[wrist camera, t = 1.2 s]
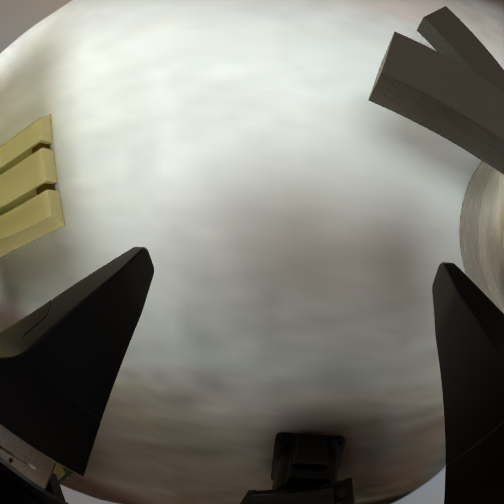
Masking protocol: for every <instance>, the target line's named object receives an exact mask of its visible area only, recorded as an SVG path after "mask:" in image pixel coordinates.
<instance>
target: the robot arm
mask: <svg viewBox="0 0 504 504" xmlns="http://www.w3.org/2000/svg"><path fill="white" fill-rule="evenodd" d="M153 274H154V266H153V263H152V261H151V258H150V255H149V252H148V250H147V249H146V248H145V247H134V248H132V249H130V250H129V251H127V252H125V253H124V254H122V255H121V256H119V257H117V258H116V259H114V260H112V261H111V262H109V263H108V264H106V265H104V266H103V267H101V268H100V269H98V270H96V271H95V272H93V273H92V274H90V275H89V276H87V277H86V278H84V279H82V280H81V281H79V282H78V283H76V284H75V285H73V286H72V287H70V288H69V289H67V290H66V291H64V292H63V293H61V294H60V295H58V296H57V297H55V298H54V299H53V300H50V301H49V302H48V303H46V304H45V305H43V306H42V307H40V308H39V309H37V310H36V311H34V312H33V313H31V314H29V315H28V316H26V317H25V318H23V319H21V320H20V321H18V322H16V323H15V324H13V325H11V326H10V327H8V328H7V329H5V330H3V331H2V332H0V504H68V503H67V502H65V499H64V496H63V493H62V491H61V487H60V484H59V481H58V478H57V475H56V474H55V473H53V471H54V468H55V466H56V464H57V463H58V464H60V465H61V466H63V467H65V468H67V469H69V470H71V471H73V472H74V473H76V474H78V475H80V476H82V477H83V475H84V473H85V470H86V467H87V463H88V460H89V457H90V453H91V450H92V447H93V444H94V441H95V438H96V435H97V432H98V429H99V426H100V421H101V419H102V416H103V413H104V410H105V408H106V405H107V402H108V399H109V396H110V393H111V391H112V388H113V385H114V382H115V380H116V377H117V374H118V372H119V369H120V366H121V364H122V361H123V358H124V356H125V353H126V351H127V348H128V346H129V343H130V340H131V338H132V335H133V333H134V330H135V328H136V326H137V323H138V321H139V318H140V316H141V313H142V310H143V307H144V304H145V300H146V297H147V294H148V291H149V287H150V284H151V281H152V278H153ZM432 292H433V303H434V317H435V333H436V342H437V349H438V356H439V363H440V372H441V381H442V391H443V402H444V417H445V440H446V475H445V500H444V504H504V314H503V313H502V311H501V310H500V309H499V308H498V307H497V306H496V305H495V304H494V303H493V302H492V301H491V300H490V299H489V298H488V297H487V296H486V295H485V294H484V293H483V292H482V291H481V290H480V288H479V287H478V286H477V285H476V284H475V283H474V282H473V281H472V280H470V279H469V278H468V277H467V276H466V275H465V274H464V273H463V272H462V271H461V270H460V269H459V268H458V267H457V266H456V265H455V264H454V263H445V262H442V263H441V264H440V265H439V267H438V270H437V273H436V276H435V279H434V282H433V288H432ZM280 437H281V438H283V439H279V438H280ZM338 441H341V442H338ZM344 444H345V439H344V437H341V436H321V435H303V434H286V433H279V434H277V435H276V438H275V446H274V455H273V464H272V472H271V479H272V480H273V486H272V490H264V491H256V490H249V491H248V493H247V494H246V496H245V497H244V499H243V500H242V502H241V503H240V504H355V499H354V492H353V485H352V478H347V479H345V480H342V481H337V471H338V467H339V464H340V460H341V456H342V452H343V448H344Z"/></svg>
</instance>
